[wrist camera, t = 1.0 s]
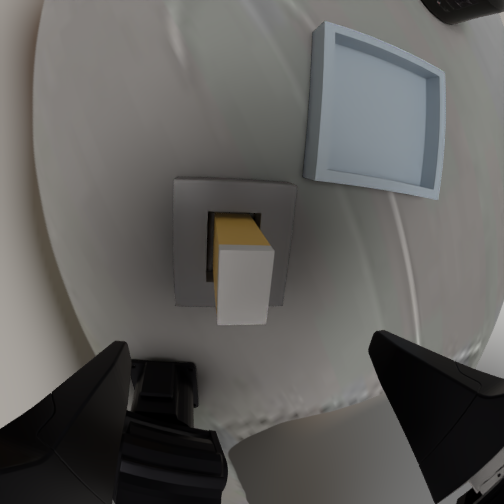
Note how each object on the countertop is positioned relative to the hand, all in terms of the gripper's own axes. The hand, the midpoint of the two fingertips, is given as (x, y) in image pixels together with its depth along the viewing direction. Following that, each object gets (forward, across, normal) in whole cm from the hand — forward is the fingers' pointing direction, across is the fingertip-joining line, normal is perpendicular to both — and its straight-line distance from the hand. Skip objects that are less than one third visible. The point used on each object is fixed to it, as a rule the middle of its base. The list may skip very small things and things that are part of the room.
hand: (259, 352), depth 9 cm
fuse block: (+12, 0, 0) cm, 13 cm away
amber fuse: (+13, 0, 0) cm, 13 cm away
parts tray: (+12, -11, -11) cm, 20 cm away
